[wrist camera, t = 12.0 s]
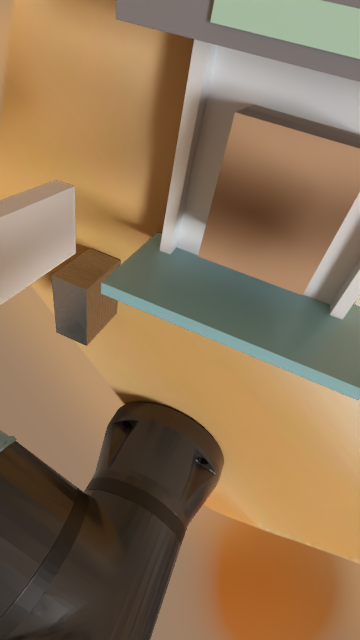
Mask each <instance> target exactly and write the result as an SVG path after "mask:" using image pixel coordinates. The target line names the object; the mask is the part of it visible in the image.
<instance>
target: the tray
mask: <svg viewBox="0 0 360 640" xmlns="http://www.w3.org/2000/svg"><path fill="white" fill-rule="evenodd" d="M251 105H258V106H261V107H265V108H268V109H272V110H275V111H279V112H282V113H286V114H289V115H293V116H297V117H300V118H304V119H307V120H311V121H314V122H318V123H321V124H325V125H328V126H332V127H335V128H339V129H342V130H346V131H349V132H353V133H356V134H360V82H358V81H354V80H350V79H346V78H342V77H339V76H335V75H331V74H327V73H323V72H319V71H315V70H311V69H308V68H304V67H300V66H296V65H292V64H288V63H284V62H280V61H277V60H273V59H269V58H265V57H261V56H257V55H253V54H249V53H245V52H242V51H238V50H234V49H230V48H226V47H222V46H218V45H214V44H211V43H207V42H203V41H199V40H195V39H194V44H193V50H192V56H191V62H190V68H189V74H188V80H187V86H186V92H185V98H184V104H183V111H182V117H181V123H180V129H179V135H178V141H177V147H176V153H175V159H174V165H173V171H172V177H171V183H170V190H169V196H168V202H167V208H166V214H165V220H164V226H163V232H162V234H161V233H159V232H157V233H156V234H155V235H154V236H153V237H152V238H151V239H149V240H148V241H147V242H146V243H145V244H144V245H143V246H142V247H140V248H139V249H138V250H137V251H136V252H135V253H134V254H133V255H132V256H130V257H129V258H128V259H127V260H126V261H125V262H124V263H123V264H121V265H120V266H119V267H118V268H117V269H116V270H115V271H114V272H113V273H111V274H110V275H109V276H108V277H107V278H106V279H105V280H104V281H102V282H101V294H103V295H106V296H108V297H110V298H113V299H115V300H118V301H120V302H122V303H125V304H127V305H130V306H132V307H134V308H137V309H139V310H142V311H144V312H146V313H149V314H151V315H154V316H156V317H159V318H161V319H163V320H166V321H168V322H171V323H173V324H175V325H178V326H180V327H183V328H185V329H187V330H190V331H192V332H195V333H197V334H199V335H202V336H204V337H207V338H209V339H211V340H214V341H216V342H219V343H221V344H224V345H226V346H228V347H231V348H233V349H236V350H238V351H240V352H243V353H245V354H248V355H250V356H252V357H255V358H257V359H260V360H262V361H264V362H267V363H269V364H272V365H274V366H276V367H279V368H281V369H284V370H286V371H289V372H291V373H293V374H296V375H298V376H301V377H303V378H305V379H308V380H310V381H313V382H315V383H317V384H320V385H322V386H325V387H327V388H329V389H332V390H334V391H337V392H339V393H341V394H344V395H346V396H349V397H351V398H353V399H356V400H359V399H360V307H359V306H357V305H354V302H355V301H356V300H357V298H358V297H359V295H360V192H359V194H358V196H357V198H356V200H355V201H354V203H353V205H352V207H351V209H350V210H349V212H348V214H347V216H346V218H345V219H344V221H343V223H342V225H341V227H340V228H339V230H338V232H337V234H336V236H335V237H334V239H333V241H332V243H331V245H330V246H329V248H328V250H327V252H326V254H325V255H324V257H323V259H322V261H321V263H320V264H319V266H318V268H317V270H316V272H315V273H314V275H313V277H312V279H311V281H310V282H309V284H308V286H307V288H306V290H305V291H304V293H303V295H300V294H297V293H294V292H292V291H289V290H286V289H284V288H281V287H278V286H276V285H273V284H270V283H268V282H265V281H262V280H260V279H257V278H254V277H252V276H249V275H246V274H244V273H241V272H238V271H236V270H233V269H230V268H228V267H225V266H222V265H220V264H217V263H214V262H212V261H209V260H206V259H204V258H201V257H198V254H199V250H200V246H201V242H202V238H203V234H204V231H205V227H206V223H207V219H208V215H209V211H210V207H211V204H212V200H213V196H214V192H215V188H216V184H217V180H218V176H219V173H220V169H221V165H222V161H223V157H224V153H225V149H226V145H227V142H228V138H229V134H230V130H231V126H232V122H233V118H234V114H235V112H237V111H239V110H242V109H244V108H246V107H249V106H251Z"/></svg>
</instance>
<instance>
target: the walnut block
mask: <svg viewBox="0 0 360 640" xmlns="http://www.w3.org/2000/svg"><path fill="white" fill-rule="evenodd" d="M359 192H360V134H356V133H353V132H349V131H346V130H342V129H339V128H335V127H332V126H328V125H325V124H321V123H318V122H314V121H311V120H307V119H304V118H300V117H297V116H293V115H289V114H286V113H282V112H279V111H275V110H272V109H268V108H265V107H261V106H258V105H251V106H249V107H246V108H244V109H242V110H239V111H237V112H235V114H234V118H233V122H232V126H231V130H230V134H229V138H228V142H227V145H226V149H225V153H224V157H223V161H222V165H221V169H220V173H219V176H218V180H217V184H216V188H215V192H214V196H213V200H212V204H211V207H210V211H209V215H208V219H207V223H206V227H205V231H204V234H203V238H202V242H201V246H200V250H199V254H198V257H201V258H204V259H206V260H209V261H212V262H214V263H217V264H220V265H222V266H225V267H228V268H230V269H233V270H236V271H238V272H241V273H244V274H246V275H249V276H252V277H254V278H257V279H260V280H262V281H265V282H268V283H270V284H273V285H276V286H278V287H281V288H284V289H286V290H289V291H292V292H294V293H297V294H300V295H303V293H304V291H305V290H306V288H307V286H308V284H309V282H310V281H311V279H312V277H313V275H314V273H315V272H316V270H317V268H318V266H319V264H320V263H321V261H322V259H323V257H324V255H325V254H326V252H327V250H328V248H329V246H330V245H331V243H332V241H333V239H334V237H335V236H336V234H337V232H338V230H339V228H340V227H341V225H342V223H343V221H344V219H345V218H346V216H347V214H348V212H349V210H350V209H351V207H352V205H353V203H354V201H355V200H356V198H357V196H358V194H359Z"/></svg>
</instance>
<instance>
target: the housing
mask: <svg viewBox="0 0 360 640" xmlns="http://www.w3.org/2000/svg"><path fill="white" fill-rule="evenodd" d="M116 19H117V20H121V21H125V22H129V23H133V24H137V25H141V26H145V27H148V28H152V29H156V30H160V31H164V32H168V33H172V34H176V35H179V36H183V37H187V38H191V39H195V40H199V41H203V42H207V43H211V44H214V45H218V46H222V47H226V48H230V49H234V50H238V51H242V52H245V53H249V54H253V55H257V56H261V57H265V58H269V59H273V60H277V61H280V62H284V63H288V64H292V65H296V66H300V67H304V68H308V69H311V70H315V71H319V72H323V73H327V74H331V75H335V76H339V77H342V78H346V79H350V80H354V81H358V82H360V0H116Z"/></svg>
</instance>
